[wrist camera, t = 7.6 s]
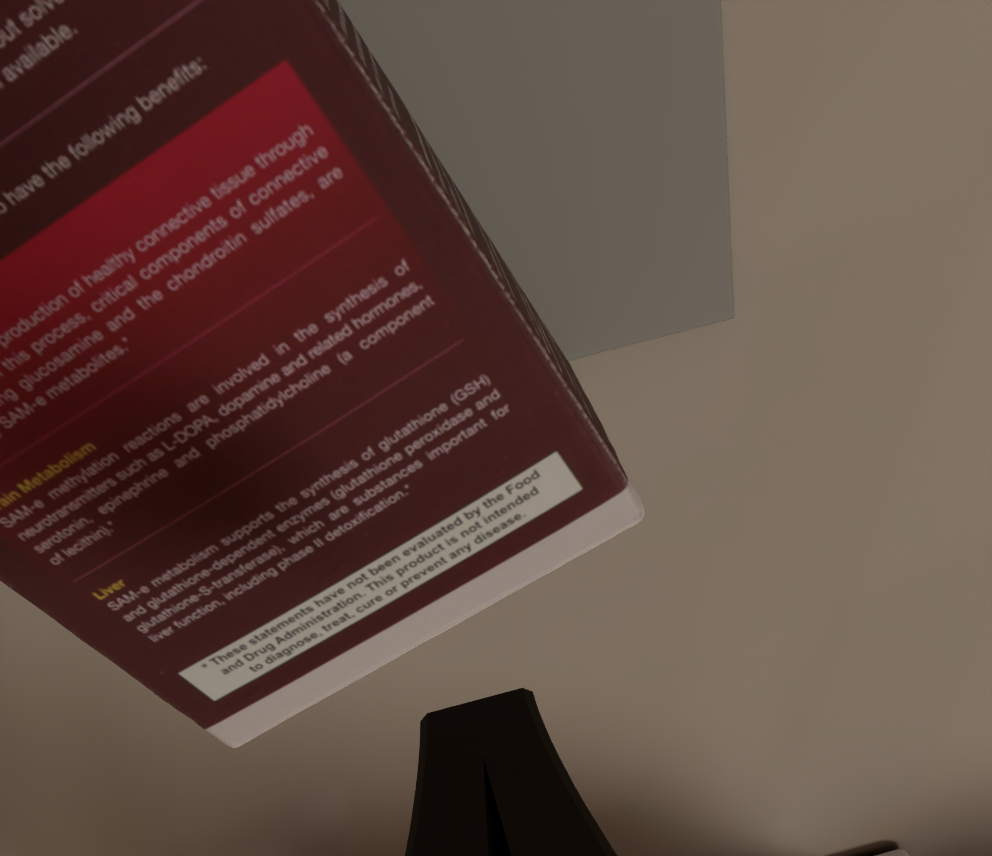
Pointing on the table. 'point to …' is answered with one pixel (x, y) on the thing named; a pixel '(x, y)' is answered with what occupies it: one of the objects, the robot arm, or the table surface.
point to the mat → (579, 149)
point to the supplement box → (262, 361)
